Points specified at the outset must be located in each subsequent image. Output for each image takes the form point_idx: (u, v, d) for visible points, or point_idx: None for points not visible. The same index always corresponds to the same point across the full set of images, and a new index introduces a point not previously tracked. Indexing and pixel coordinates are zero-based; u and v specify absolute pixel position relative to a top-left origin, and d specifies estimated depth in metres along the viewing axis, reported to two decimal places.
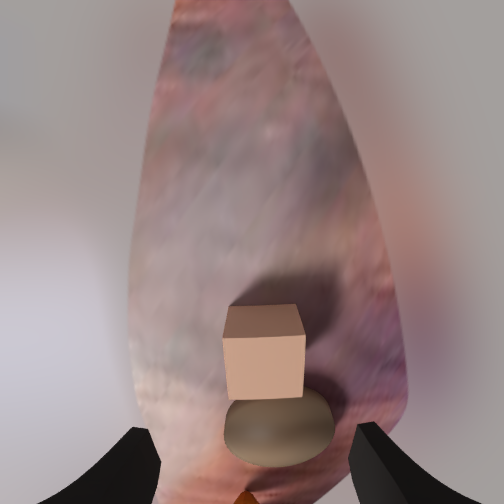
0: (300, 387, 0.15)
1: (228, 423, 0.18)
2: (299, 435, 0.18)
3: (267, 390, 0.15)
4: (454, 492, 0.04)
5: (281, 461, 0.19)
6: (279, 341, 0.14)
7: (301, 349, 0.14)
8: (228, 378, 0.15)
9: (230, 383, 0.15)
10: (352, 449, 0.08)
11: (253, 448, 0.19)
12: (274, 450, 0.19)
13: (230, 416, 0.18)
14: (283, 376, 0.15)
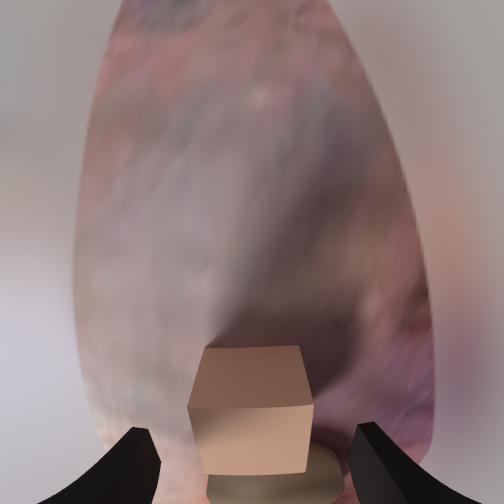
0: (303, 463, 0.09)
1: (210, 483, 0.12)
2: (300, 494, 0.13)
3: (257, 466, 0.09)
4: (454, 492, 0.04)
5: None
6: (273, 413, 0.09)
7: (306, 422, 0.09)
8: (201, 452, 0.09)
9: (204, 458, 0.09)
10: (352, 449, 0.08)
11: None
12: None
13: (213, 475, 0.13)
14: (279, 453, 0.09)
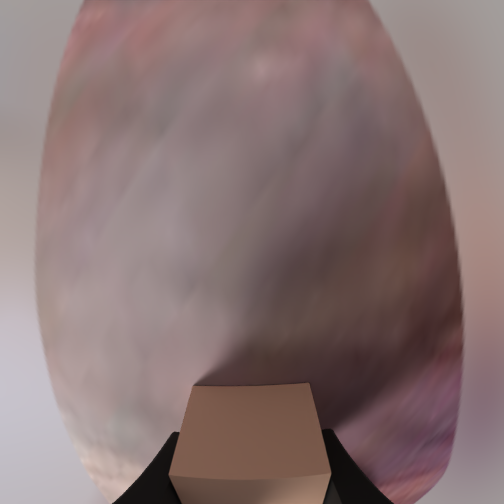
0: None
1: None
2: None
3: None
4: None
5: None
6: (278, 483, 0.06)
7: (320, 489, 0.06)
8: None
9: None
10: None
11: None
12: None
13: None
14: None
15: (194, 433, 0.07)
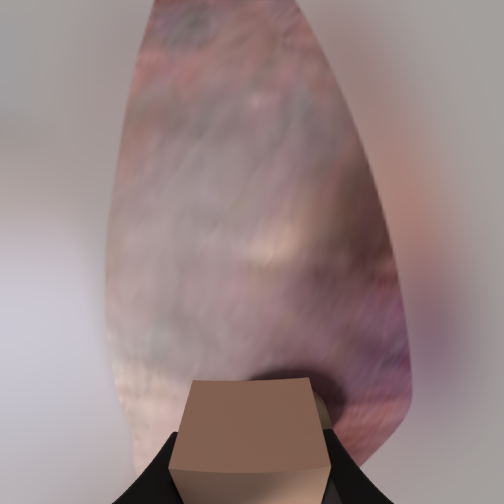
0: None
1: None
2: None
3: None
4: None
5: None
6: (278, 477, 0.06)
7: (320, 483, 0.06)
8: None
9: None
10: None
11: None
12: None
13: None
14: None
15: (194, 427, 0.07)
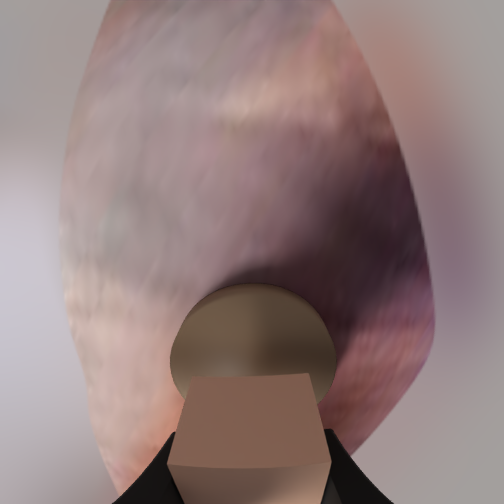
0: None
1: (174, 343, 0.13)
2: (283, 370, 0.13)
3: None
4: None
5: None
6: (278, 473, 0.06)
7: (320, 479, 0.06)
8: None
9: None
10: None
11: None
12: None
13: (178, 332, 0.13)
14: None
15: (193, 422, 0.07)
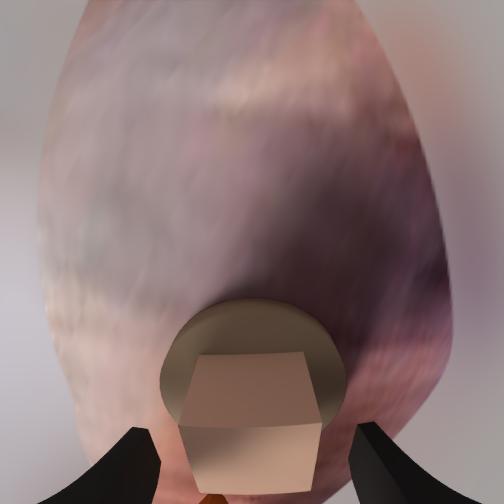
0: (308, 482, 0.08)
1: (164, 364, 0.11)
2: None
3: (257, 486, 0.08)
4: (454, 492, 0.04)
5: None
6: (275, 433, 0.07)
7: (313, 441, 0.07)
8: (195, 472, 0.08)
9: (199, 477, 0.08)
10: (352, 449, 0.08)
11: None
12: None
13: (168, 352, 0.12)
14: (281, 472, 0.08)
15: (201, 391, 0.09)
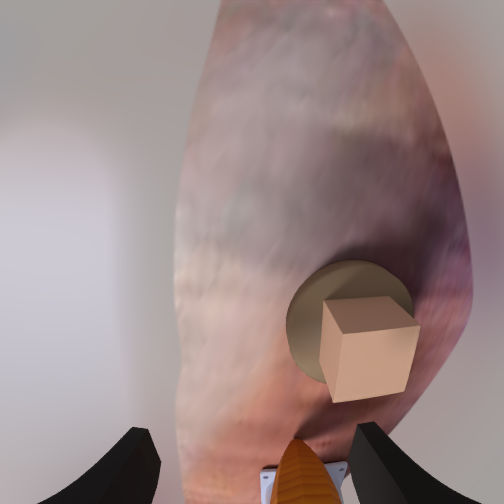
0: (405, 381, 0.13)
1: (296, 309, 0.16)
2: None
3: (375, 387, 0.13)
4: (454, 492, 0.04)
5: None
6: (397, 333, 0.12)
7: (414, 340, 0.12)
8: (338, 379, 0.13)
9: (339, 384, 0.13)
10: (352, 449, 0.08)
11: None
12: None
13: (298, 300, 0.17)
14: (392, 371, 0.13)
15: (342, 317, 0.14)
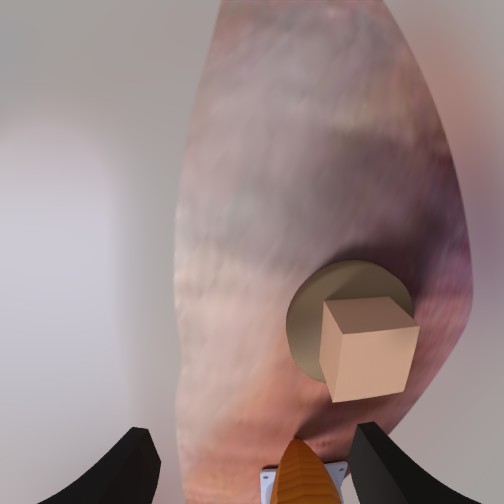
0: (404, 381, 0.13)
1: (297, 309, 0.16)
2: None
3: (374, 387, 0.13)
4: (454, 492, 0.04)
5: None
6: (396, 334, 0.12)
7: (413, 341, 0.12)
8: (338, 379, 0.13)
9: (339, 384, 0.13)
10: (352, 449, 0.08)
11: None
12: None
13: (298, 300, 0.17)
14: (392, 371, 0.13)
15: (342, 318, 0.14)
